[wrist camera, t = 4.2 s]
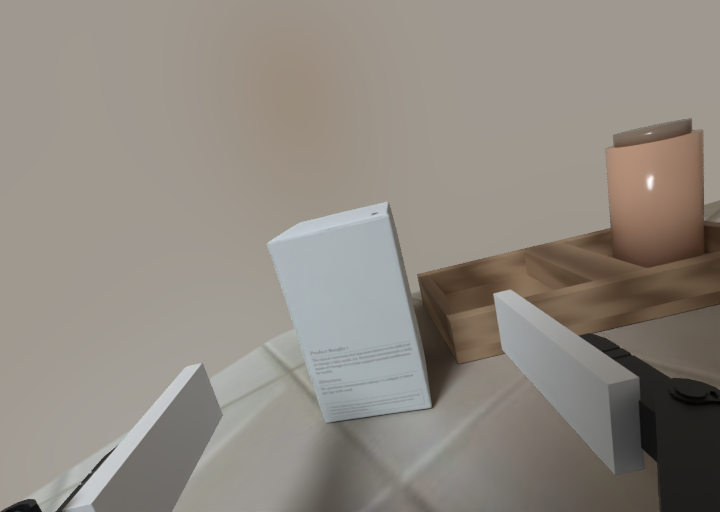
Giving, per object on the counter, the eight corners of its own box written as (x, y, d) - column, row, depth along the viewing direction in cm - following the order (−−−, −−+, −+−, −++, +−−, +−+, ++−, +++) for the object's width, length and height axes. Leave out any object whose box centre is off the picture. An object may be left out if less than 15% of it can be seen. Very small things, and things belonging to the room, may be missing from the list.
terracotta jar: (659, 251, 33) (654, 124, 30) (726, 267, 27) (727, 111, 24) (598, 266, 33) (587, 140, 30) (651, 285, 27) (645, 131, 24)
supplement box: (424, 349, 28) (392, 198, 25) (434, 412, 21) (390, 211, 18) (339, 362, 29) (299, 220, 26) (320, 426, 22) (262, 240, 19)
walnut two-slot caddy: (662, 248, 36) (661, 216, 35) (813, 281, 24) (816, 234, 23) (423, 304, 36) (417, 274, 36) (458, 364, 25) (450, 321, 24)
